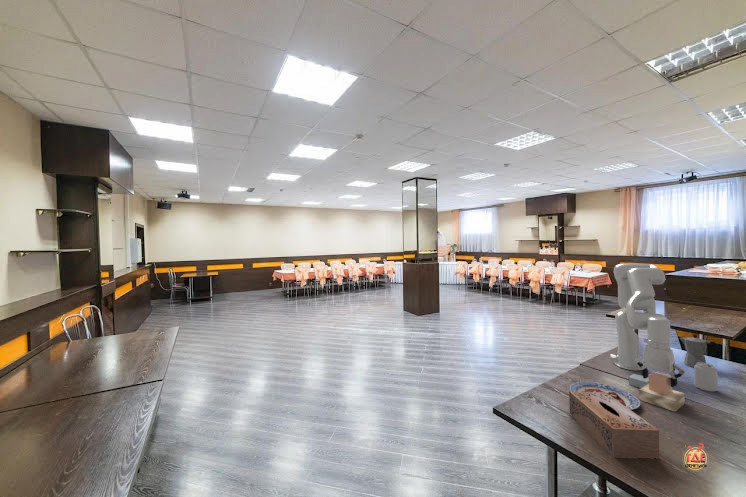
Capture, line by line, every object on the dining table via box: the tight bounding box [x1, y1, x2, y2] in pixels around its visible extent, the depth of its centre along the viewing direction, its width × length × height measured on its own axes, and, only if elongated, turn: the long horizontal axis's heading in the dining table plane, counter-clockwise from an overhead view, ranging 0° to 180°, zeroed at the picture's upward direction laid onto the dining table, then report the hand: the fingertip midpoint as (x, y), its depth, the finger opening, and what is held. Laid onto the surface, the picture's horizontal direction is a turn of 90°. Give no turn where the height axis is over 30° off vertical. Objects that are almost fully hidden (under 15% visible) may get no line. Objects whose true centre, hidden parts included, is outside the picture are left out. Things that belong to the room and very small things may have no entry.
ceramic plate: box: [569, 381, 641, 411], centre depth 139 cm, size 26×26×3 cm
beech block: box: [638, 384, 686, 412], centre depth 135 cm, size 12×12×5 cm
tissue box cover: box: [568, 391, 660, 460], centre depth 113 cm, size 26×14×10 cm, turn 175°
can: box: [694, 362, 719, 393], centre depth 146 cm, size 8×8×12 cm
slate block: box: [628, 373, 649, 389], centre depth 151 cm, size 7×7×4 cm
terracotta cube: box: [648, 371, 673, 395], centre depth 136 cm, size 6×6×7 cm
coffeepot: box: [678, 334, 719, 368], centre depth 171 cm, size 15×9×18 cm, turn 37°
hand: (658, 382), depth 137 cm, fingers open, 9 cm apart
